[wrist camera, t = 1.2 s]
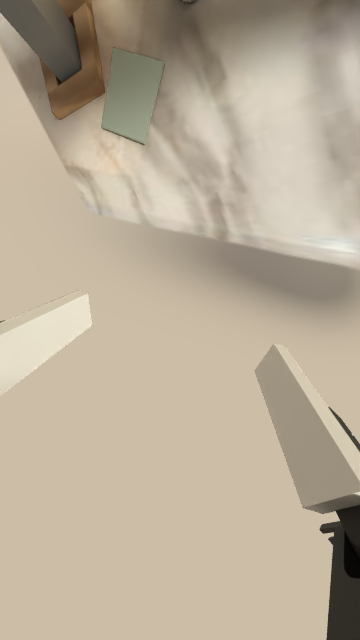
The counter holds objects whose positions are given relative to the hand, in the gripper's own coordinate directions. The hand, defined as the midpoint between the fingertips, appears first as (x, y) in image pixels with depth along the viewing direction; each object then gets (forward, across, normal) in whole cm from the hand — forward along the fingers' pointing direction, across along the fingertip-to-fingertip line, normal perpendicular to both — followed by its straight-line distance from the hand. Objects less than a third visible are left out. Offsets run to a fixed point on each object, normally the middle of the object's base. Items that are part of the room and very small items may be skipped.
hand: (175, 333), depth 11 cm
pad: (+32, -19, +24) cm, 44 cm away
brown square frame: (+35, -32, +28) cm, 55 cm away
